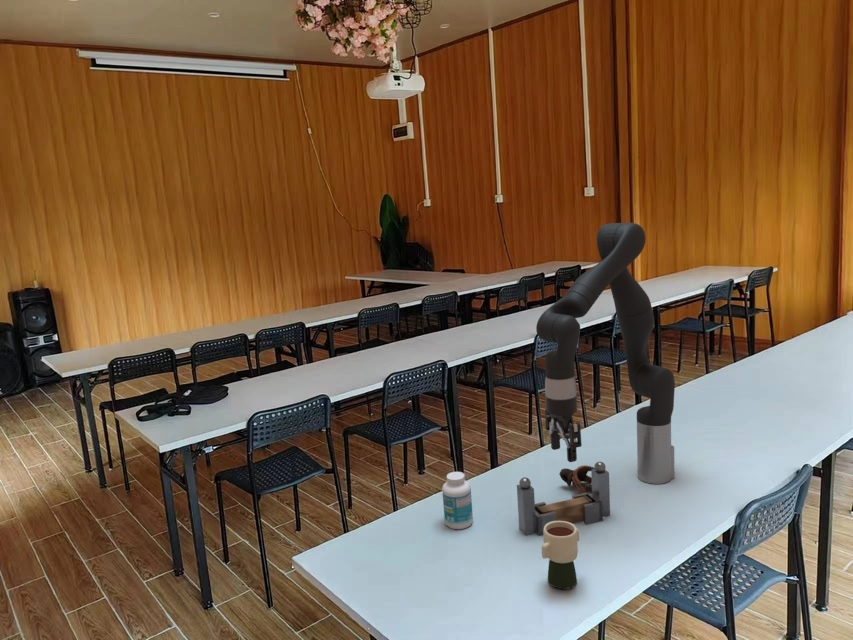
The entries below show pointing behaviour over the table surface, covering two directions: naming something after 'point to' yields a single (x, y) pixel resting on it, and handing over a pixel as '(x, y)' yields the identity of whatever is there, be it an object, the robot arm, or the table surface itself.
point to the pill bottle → (457, 501)
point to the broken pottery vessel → (578, 478)
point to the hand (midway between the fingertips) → (563, 454)
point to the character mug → (561, 552)
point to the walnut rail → (566, 509)
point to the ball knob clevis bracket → (591, 512)
